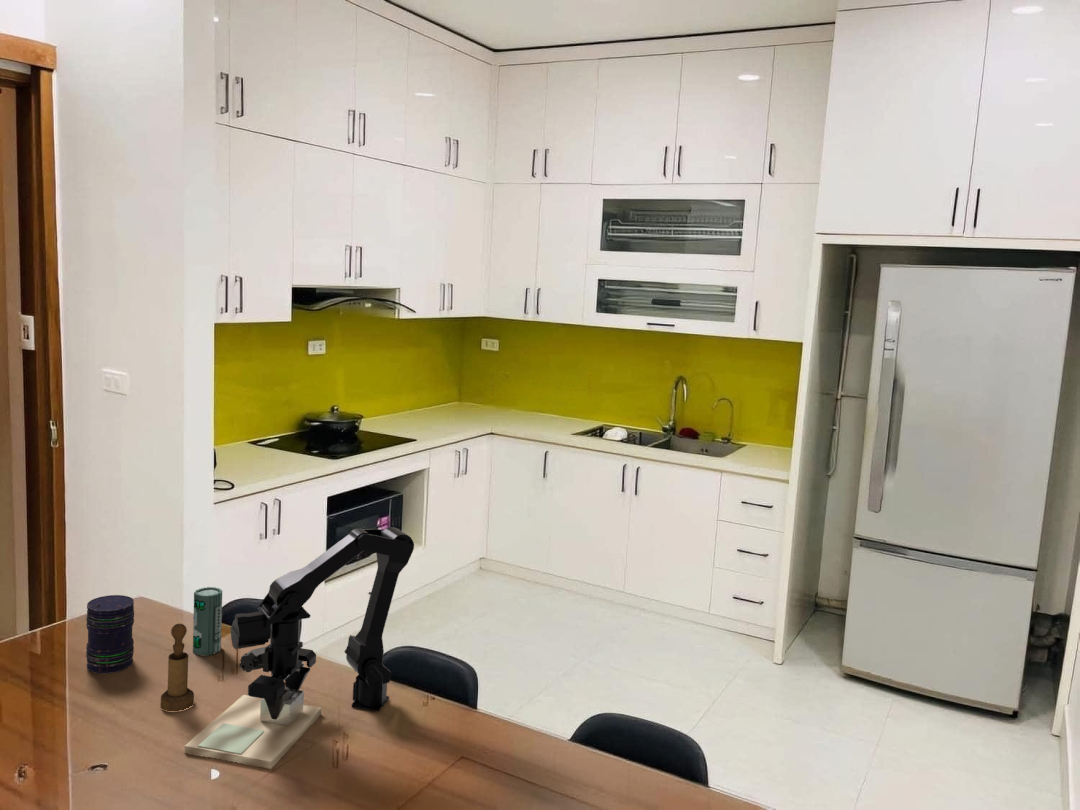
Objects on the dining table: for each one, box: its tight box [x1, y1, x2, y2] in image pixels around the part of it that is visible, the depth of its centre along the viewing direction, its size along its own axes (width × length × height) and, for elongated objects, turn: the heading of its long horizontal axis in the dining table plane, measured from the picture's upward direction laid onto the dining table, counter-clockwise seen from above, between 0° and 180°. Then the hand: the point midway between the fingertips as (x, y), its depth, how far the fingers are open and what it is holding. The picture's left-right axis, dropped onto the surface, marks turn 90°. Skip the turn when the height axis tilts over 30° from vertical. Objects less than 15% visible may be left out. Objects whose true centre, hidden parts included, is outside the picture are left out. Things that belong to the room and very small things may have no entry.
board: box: [183, 687, 322, 770], centre depth 175 cm, size 18×22×8 cm
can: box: [192, 586, 223, 657], centre depth 210 cm, size 6×6×15 cm
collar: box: [260, 689, 305, 726], centre depth 179 cm, size 6×6×4 cm
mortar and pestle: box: [160, 623, 195, 711], centre depth 182 cm, size 7×6×18 cm
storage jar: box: [85, 594, 135, 675], centre depth 199 cm, size 10×10×15 cm
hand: (282, 711), depth 179 cm, fingers closed on collar, 6 cm apart
